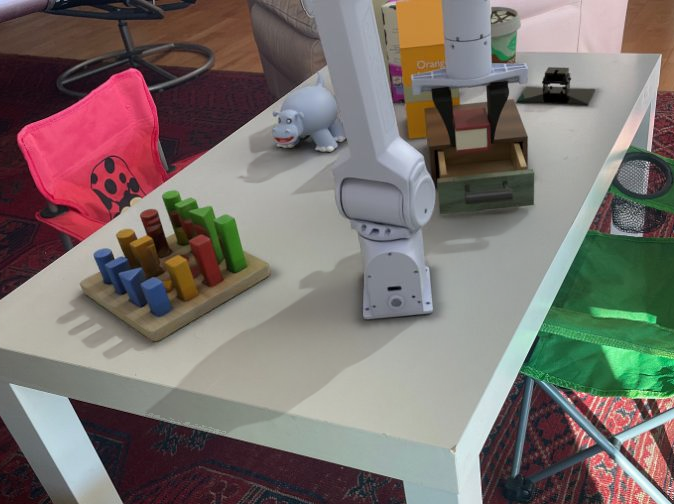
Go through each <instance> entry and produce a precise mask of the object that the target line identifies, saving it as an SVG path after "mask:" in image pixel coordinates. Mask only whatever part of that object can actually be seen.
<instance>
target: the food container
mask: <svg viewBox="0 0 674 504" xmlns="http://www.w3.org/2000/svg"><path fill="white" fill-rule="evenodd" d="M490 18H491V59H492V63H493V64H516V55H517V40H518V38H517V37H518V30H519V29H521V27H522V23H521V17H520V15H519V12H518V11H517V10H516V9H514V8H510V7H506V6H490Z"/></svg>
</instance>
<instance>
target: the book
mask: <svg viewBox="0 0 674 504" xmlns="http://www.w3.org/2000/svg"><path fill="white" fill-rule="evenodd" d="M453 124H454V131H455V138H456V150H457V154H458V153H468V152H478V151H488V150H491V138H490V123H489V119H488V116H487V112H486V109H485V108H477V109H467V110H457V111H453Z"/></svg>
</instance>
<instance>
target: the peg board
mask: <svg viewBox="0 0 674 504" xmlns="http://www.w3.org/2000/svg"><path fill="white" fill-rule="evenodd" d="M161 198H162V201H163V204H164V207H165V209H166V213H167V215H168V218H169V221H170V224H171V227H172V229H173V232H174V233H172V234H170V235H169V236H167V237H166V233H165V230H164V226H163V224H162V220H161V217H160V214H159V210H157V209H156V208H149V209H146V210H143V211H142V212H140V214H139V217H140V220H141V223H142V226H143V228H144V231H145V235H143V236H141V237H140V238H138V236H137V233H136V232H135V230H134V229H133V228H124V229H120V230H119V231H117V232H116V234H115V236H116V239H117V242H118V244H119V247H120V250H121V251H122V254H123V255H121V256H119V257H116V258H115V256H114V254H113V251H112V249H111V248H108V247H104V248H100V249H97V250H96V251H94V252H93V253H92V254H93V258H94V261H95V264H96V265H97V267H98V270H99V271H97V273H95V274H94V273H93V274H92V275H90V276H89V277H87V278H85V279H83V280H81V281H80V282H79V286H80V288H81V291H82V293H84V295H86V296H88V297H89V298H90V299H92V300H93V301H94V302H95V303H97V304H99V305H100V306H101V307H103V308H104V309H105V310H107V311H108V312H110V313H112V314H113V315H114V316H115V317H117V318H119V319H120V320H122V322H125V323H126V324H127V325H129V326H130V327H132V328H133V329H134V330H135V331H137V332H139V333H140V334H142V335H143V336H144V337H146V338H147V339H148V340H150V341H152V342H158V341H160V340H162V339H164V338H166V337H168V336H170V335H171V334H173V333H175V332H176V331H177V330H180V329H181V328H182V327H184V326H186V325H188V324H190V323H191V322H193V321H195V320H197V319H199V318H200V317H202V316H204V315H205V314H207V313H209V312H210V311H212V310H213V309H215V308H217V307H218V306H221V305H222V304H224V303H225V302H227V301H229V300H230V299H233V298H234V297H235V296H238V295H239V294H240V293H242V292H244V291H246V290H248V289H249V288H251V287H253V286H254V285H255V284H256V285H257V284H258V283H259V282H261V281H263V280H264V279H267V278H268V277H269V276H271V268H270V264H269V262H267V261H266V260H263V259H261V258H259V257H257V256H255V255H253V254H251V253H250V252H247V251H245V250H244V248H243V245H242V240H241V237H240V233H239V229H238V225H237V221H236V218H235V217H233V216H232V215H230V214H227V213H226V214H222V215H220V216H218V217H216V214H215V211H214V207H213V206H212V205H207V206H203V207H199V205H198V201H197V200H196V198H193V197H187V198H185V199H182V197H181V195H180V192H179V191H178V190H174V189H173V190H168V191H166V192H163V194H162V195H161Z"/></svg>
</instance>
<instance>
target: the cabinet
mask: <svg viewBox="0 0 674 504" xmlns="http://www.w3.org/2000/svg"><path fill="white" fill-rule="evenodd" d="M477 108H485V109H486V112H488V110H487V101H481V102H472V103H463V104H462V103H460V105H453V111H457V110H467V109H477ZM424 111H425V123H426V134H427V137H426V144H427V154H428V162H429V171H430V176H431V178H432V180H433V182H434V186H435V189H436V188H437V189H438V185H437V179H439V178H440V176H439V169H438V156H437V150H442V149H452V148H456V147H451V145H450V139H449V135H448V132H447V129H446V126H445V124H444V122H443V119H442V117H441V115H440V113H439V112H438V110H437V108H436V107H432V108H424ZM511 142H519V145H520V148H521V151H522V154H523V157H524V160H525V162H526V165H527V170H528V167H529V166H528V164H529V163H528V161H529V160H528V159H529V154H528V153H529V136H528V133H527V131H526V128H525V125H524V123H523V120H522V118H521V114H520V111H519V109H518V107H517V104H516V102H515V99H514V98H508V99H507V101H506V103H505V105H504V107H503V109H502V112H501V114H500V117H499V120H498V123H497V127H496V131H495V137H494V143H491V144H501V143H511Z"/></svg>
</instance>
